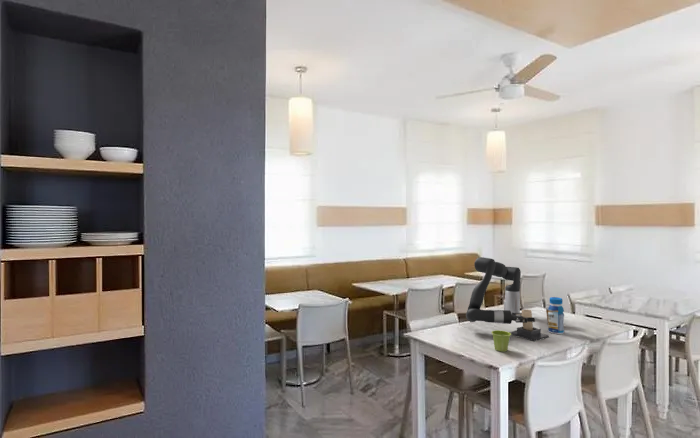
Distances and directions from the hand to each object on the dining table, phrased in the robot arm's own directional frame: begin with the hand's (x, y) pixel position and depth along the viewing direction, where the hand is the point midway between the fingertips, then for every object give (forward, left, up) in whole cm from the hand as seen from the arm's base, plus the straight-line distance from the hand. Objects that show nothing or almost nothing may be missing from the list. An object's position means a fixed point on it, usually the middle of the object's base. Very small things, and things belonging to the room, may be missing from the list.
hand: (533, 318), depth 229 cm
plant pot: (+5, -36, -10) cm, 37 cm away
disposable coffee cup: (-6, +30, -10) cm, 32 cm away
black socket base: (-2, -2, -10) cm, 10 cm away
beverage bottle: (+3, +17, -10) cm, 20 cm away
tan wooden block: (-2, -2, -9) cm, 9 cm away
